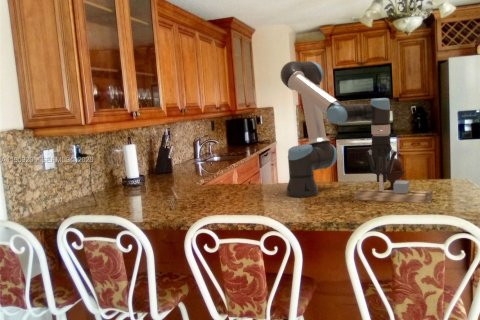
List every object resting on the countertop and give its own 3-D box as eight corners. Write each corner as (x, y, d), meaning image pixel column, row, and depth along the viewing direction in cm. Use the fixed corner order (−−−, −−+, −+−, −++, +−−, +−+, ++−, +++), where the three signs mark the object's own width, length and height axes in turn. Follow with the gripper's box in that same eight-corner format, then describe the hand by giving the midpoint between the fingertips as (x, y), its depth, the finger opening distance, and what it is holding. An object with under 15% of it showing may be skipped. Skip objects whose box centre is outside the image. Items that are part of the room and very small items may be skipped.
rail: (354, 199, 178) (354, 190, 178) (359, 195, 185) (359, 187, 185) (430, 203, 163) (429, 193, 162) (432, 198, 169) (432, 189, 169)
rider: (393, 197, 170) (393, 183, 169) (397, 194, 176) (396, 180, 175) (406, 198, 168) (406, 183, 167) (409, 194, 173) (409, 181, 173)
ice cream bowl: (400, 187, 198) (399, 156, 196) (407, 191, 187) (407, 159, 185) (378, 188, 199) (377, 157, 197) (383, 192, 188) (382, 160, 186)
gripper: (363, 136, 173) (364, 190, 176) (395, 135, 167) (396, 192, 169) (367, 134, 180) (368, 187, 183) (398, 133, 173) (399, 188, 176)
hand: (381, 189), depth 176 cm, fingers closed
